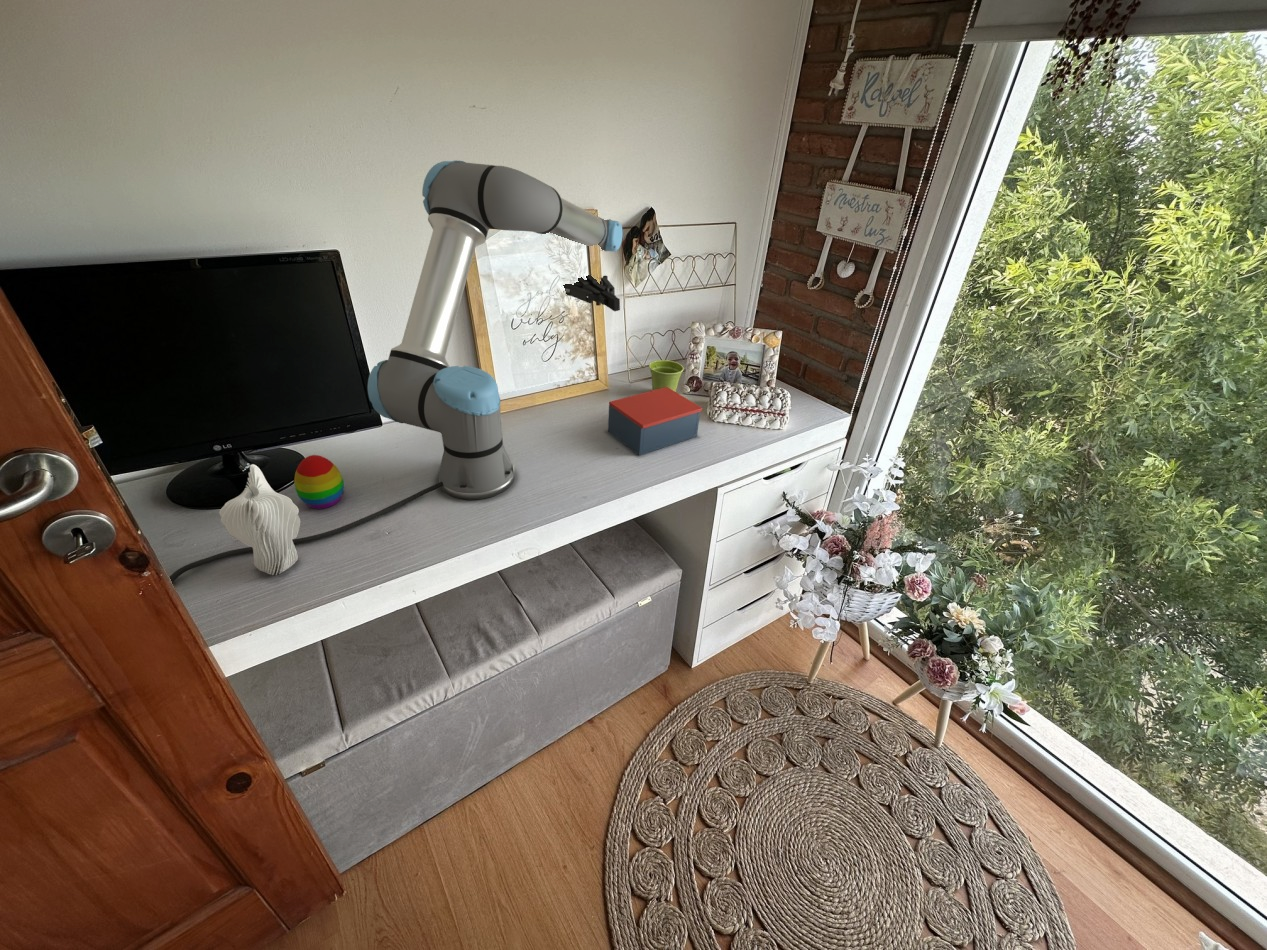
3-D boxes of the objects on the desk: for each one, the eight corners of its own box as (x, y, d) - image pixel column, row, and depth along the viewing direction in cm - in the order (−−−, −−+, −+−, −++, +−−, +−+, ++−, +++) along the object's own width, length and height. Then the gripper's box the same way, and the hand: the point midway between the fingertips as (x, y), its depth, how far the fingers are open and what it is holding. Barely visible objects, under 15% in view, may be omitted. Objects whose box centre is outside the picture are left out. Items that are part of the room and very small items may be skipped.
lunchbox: (697, 436, 142) (700, 410, 138) (639, 455, 133) (641, 427, 129) (664, 415, 151) (666, 389, 147) (607, 431, 142) (608, 404, 138)
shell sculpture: (278, 589, 93) (243, 498, 83) (240, 574, 95) (202, 483, 85) (319, 558, 99) (291, 470, 89) (283, 545, 101) (252, 457, 92)
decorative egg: (291, 506, 111) (276, 462, 105) (323, 485, 117) (311, 442, 112) (325, 517, 108) (311, 472, 103) (356, 494, 115) (345, 451, 110)
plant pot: (664, 385, 167) (667, 357, 162) (687, 397, 161) (690, 368, 156) (639, 393, 161) (641, 364, 157) (662, 406, 155) (665, 376, 151)
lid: (702, 411, 138) (702, 408, 138) (642, 428, 129) (642, 425, 129) (666, 389, 147) (666, 386, 147) (608, 404, 138) (608, 401, 138)
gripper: (595, 286, 158) (640, 314, 142) (551, 295, 153) (593, 326, 137) (593, 258, 154) (640, 284, 137) (548, 266, 148) (591, 295, 132)
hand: (617, 305), depth 137 cm, fingers closed
